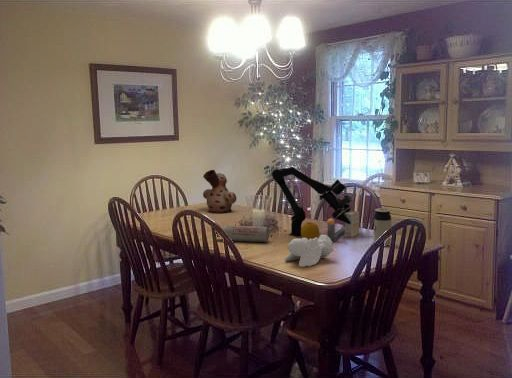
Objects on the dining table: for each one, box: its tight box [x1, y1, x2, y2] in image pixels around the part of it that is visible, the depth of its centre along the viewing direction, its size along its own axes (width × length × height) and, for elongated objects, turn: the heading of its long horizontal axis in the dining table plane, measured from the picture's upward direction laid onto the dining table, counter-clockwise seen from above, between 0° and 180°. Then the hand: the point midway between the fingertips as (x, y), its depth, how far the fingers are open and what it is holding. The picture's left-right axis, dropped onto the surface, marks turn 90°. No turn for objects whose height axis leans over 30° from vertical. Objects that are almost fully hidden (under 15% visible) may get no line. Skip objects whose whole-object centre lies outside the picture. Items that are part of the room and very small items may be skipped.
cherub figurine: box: [284, 234, 334, 268], centre depth 218 cm, size 13×12×20 cm
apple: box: [300, 221, 321, 240], centre depth 248 cm, size 10×10×12 cm
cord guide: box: [326, 217, 345, 243], centre depth 266 cm, size 34×4×12 cm, turn 154°
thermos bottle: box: [215, 225, 270, 243], centre depth 258 cm, size 8×8×28 cm
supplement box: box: [344, 210, 360, 238], centre depth 263 cm, size 8×5×13 cm, turn 141°
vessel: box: [202, 169, 238, 214], centre depth 337 cm, size 29×22×30 cm
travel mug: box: [373, 207, 392, 247], centre depth 243 cm, size 8×8×18 cm
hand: (352, 221), depth 263 cm, fingers open, 9 cm apart
